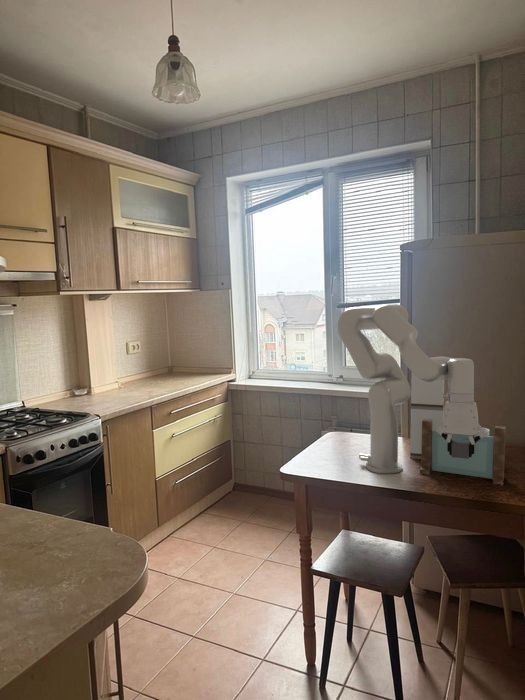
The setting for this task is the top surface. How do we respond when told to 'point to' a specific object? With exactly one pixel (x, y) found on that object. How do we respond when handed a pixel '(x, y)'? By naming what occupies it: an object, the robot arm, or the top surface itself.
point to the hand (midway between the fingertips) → (460, 454)
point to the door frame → (498, 451)
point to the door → (473, 466)
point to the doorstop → (460, 449)
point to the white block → (424, 410)
